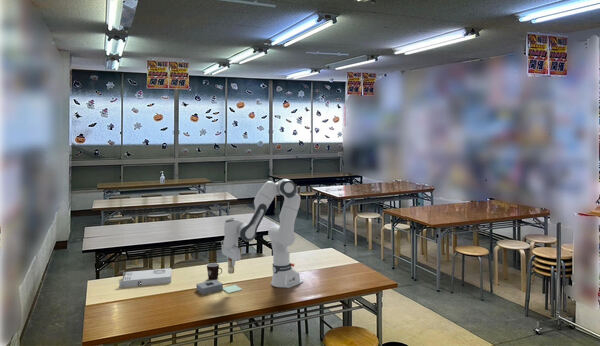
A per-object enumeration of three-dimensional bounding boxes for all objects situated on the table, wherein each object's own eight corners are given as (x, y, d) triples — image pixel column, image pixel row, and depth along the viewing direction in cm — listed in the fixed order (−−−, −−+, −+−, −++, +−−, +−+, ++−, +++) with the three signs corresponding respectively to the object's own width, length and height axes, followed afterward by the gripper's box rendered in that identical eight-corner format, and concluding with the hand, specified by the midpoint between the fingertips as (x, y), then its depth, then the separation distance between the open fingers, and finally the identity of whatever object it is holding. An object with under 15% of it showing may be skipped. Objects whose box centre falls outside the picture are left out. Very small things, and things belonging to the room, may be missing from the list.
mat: (235, 285, 278) (235, 284, 278) (242, 290, 270) (242, 289, 270) (221, 288, 272) (221, 288, 272) (228, 293, 264) (228, 292, 264)
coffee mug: (204, 278, 292) (204, 264, 291) (216, 275, 297) (215, 262, 297) (211, 282, 283) (211, 268, 282) (223, 280, 288) (223, 266, 287)
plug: (232, 271, 273) (232, 257, 272) (235, 272, 269) (235, 259, 268) (226, 272, 270) (226, 258, 269) (229, 274, 267) (229, 260, 266)
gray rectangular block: (216, 285, 278) (216, 279, 278) (222, 289, 270) (222, 283, 270) (196, 289, 270) (196, 284, 270) (202, 294, 262) (202, 288, 262)
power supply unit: (123, 279, 292) (122, 272, 292) (171, 274, 302) (171, 268, 301) (119, 288, 274) (119, 281, 274) (171, 283, 284) (170, 276, 283)
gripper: (243, 246, 262) (243, 267, 263) (228, 239, 278) (228, 259, 279) (234, 247, 258) (234, 269, 259) (219, 240, 274) (220, 261, 275)
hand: (231, 264), depth 269 cm, fingers closed on plug, 4 cm apart
